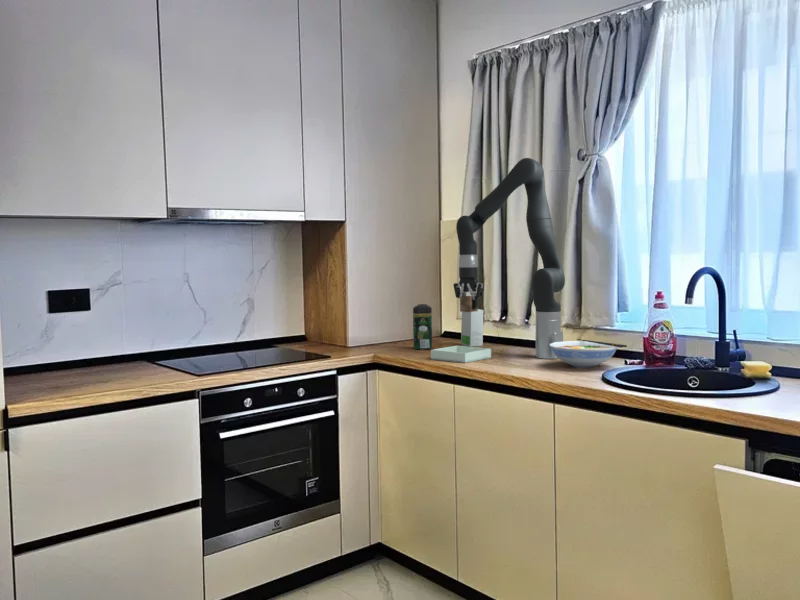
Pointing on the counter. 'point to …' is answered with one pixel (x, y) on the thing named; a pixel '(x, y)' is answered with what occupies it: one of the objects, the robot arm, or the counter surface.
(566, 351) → the ramen bowl
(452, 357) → the sage tray
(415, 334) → the coffee jar
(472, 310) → the walnut block
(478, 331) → the skincare box
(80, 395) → the counter surface
